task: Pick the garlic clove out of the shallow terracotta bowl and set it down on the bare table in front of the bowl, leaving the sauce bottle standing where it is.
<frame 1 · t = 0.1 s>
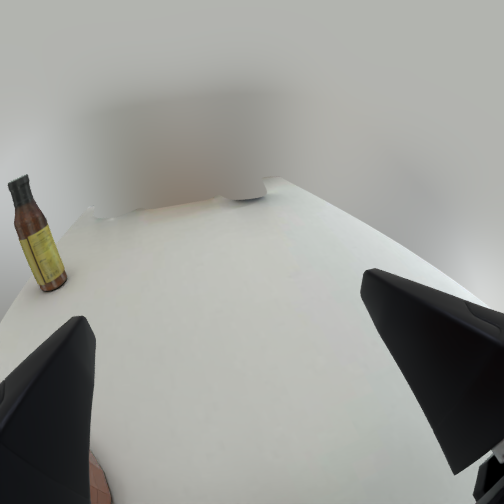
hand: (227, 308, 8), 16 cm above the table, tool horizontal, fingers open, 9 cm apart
sauce bottle: (53, 284, 39), on the table
bowl: (41, 492, 9), on the table
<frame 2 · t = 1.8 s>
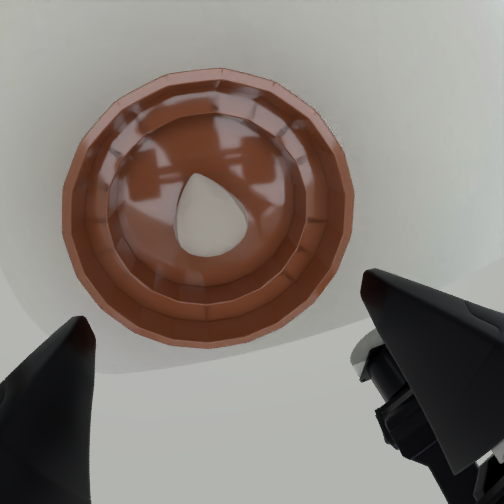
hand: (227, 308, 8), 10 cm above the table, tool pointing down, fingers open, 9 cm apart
bowl: (205, 206, 17), on the table
garlic clove: (206, 206, 17), resting on bowl
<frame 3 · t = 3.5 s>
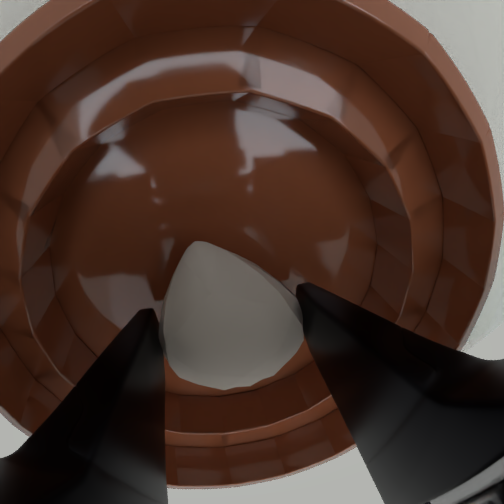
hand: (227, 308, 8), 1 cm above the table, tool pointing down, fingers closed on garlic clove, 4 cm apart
bowl: (219, 286, 9), on the table
garlic clove: (219, 290, 9), resting on bowl, touching gripper
when the fingers open (1 cm above the table, at t = 8.7 s): garlic clove stays where it is, on the table.
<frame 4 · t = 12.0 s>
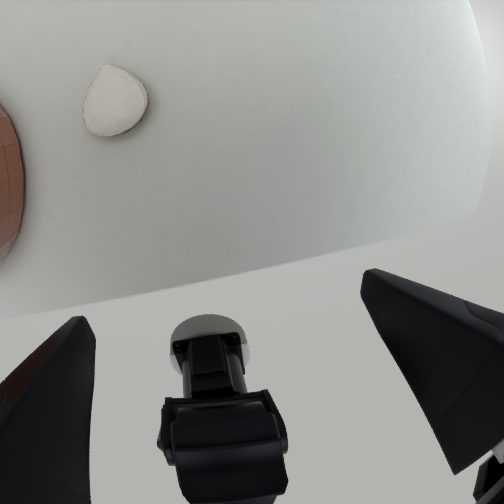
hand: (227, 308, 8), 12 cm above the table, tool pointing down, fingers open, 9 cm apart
garlic clove: (118, 99, 14), on the table
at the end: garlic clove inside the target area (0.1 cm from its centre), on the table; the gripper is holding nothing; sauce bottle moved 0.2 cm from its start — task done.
